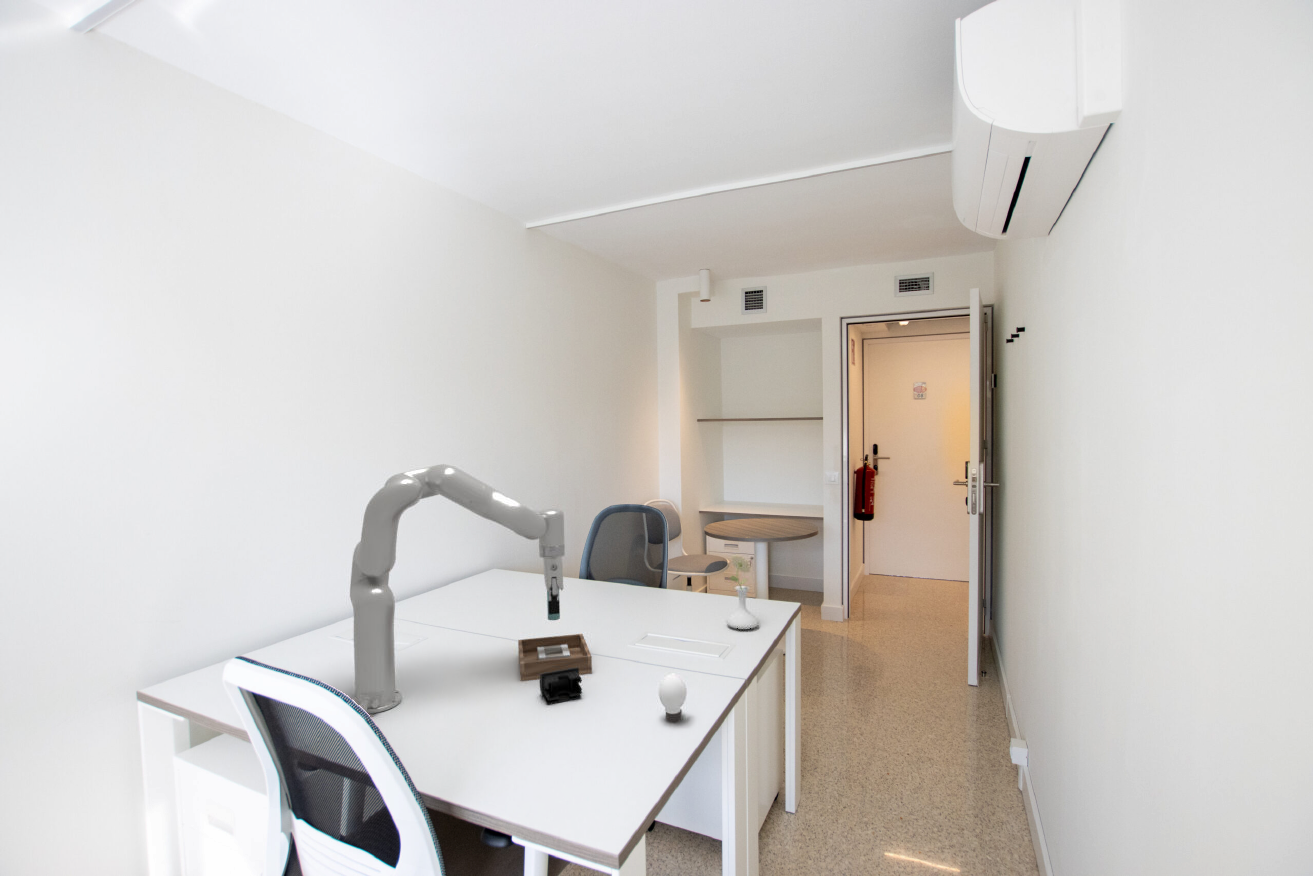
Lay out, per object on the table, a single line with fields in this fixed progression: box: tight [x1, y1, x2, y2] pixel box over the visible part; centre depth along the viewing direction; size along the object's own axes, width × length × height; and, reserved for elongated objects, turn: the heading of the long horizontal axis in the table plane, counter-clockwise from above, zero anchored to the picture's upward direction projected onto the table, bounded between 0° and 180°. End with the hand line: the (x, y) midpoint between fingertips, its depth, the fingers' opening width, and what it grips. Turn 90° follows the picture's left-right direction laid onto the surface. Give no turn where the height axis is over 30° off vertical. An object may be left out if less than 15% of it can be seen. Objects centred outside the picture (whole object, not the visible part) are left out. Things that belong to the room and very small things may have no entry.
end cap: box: [539, 667, 583, 706], centre depth 165 cm, size 10×7×7 cm
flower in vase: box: [725, 554, 760, 630], centre depth 220 cm, size 13×11×25 cm
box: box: [517, 633, 593, 682], centre depth 188 cm, size 20×20×5 cm
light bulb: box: [658, 672, 687, 723], centre depth 152 cm, size 7×7×11 cm
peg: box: [546, 586, 561, 621], centre depth 187 cm, size 4×4×10 cm
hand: (553, 611), depth 188 cm, fingers closed on peg, 3 cm apart
